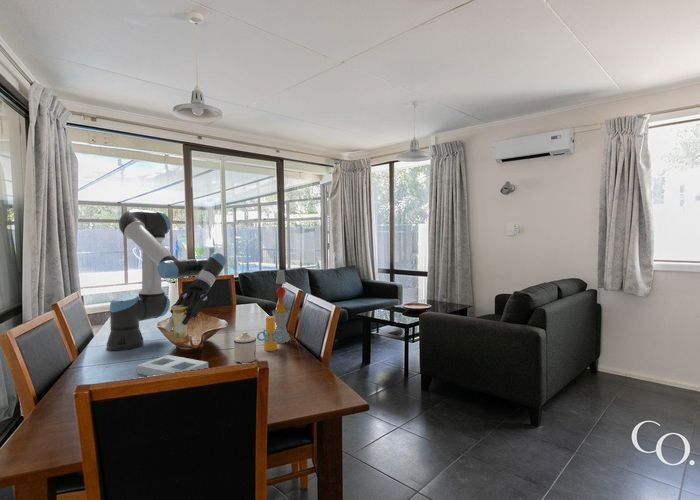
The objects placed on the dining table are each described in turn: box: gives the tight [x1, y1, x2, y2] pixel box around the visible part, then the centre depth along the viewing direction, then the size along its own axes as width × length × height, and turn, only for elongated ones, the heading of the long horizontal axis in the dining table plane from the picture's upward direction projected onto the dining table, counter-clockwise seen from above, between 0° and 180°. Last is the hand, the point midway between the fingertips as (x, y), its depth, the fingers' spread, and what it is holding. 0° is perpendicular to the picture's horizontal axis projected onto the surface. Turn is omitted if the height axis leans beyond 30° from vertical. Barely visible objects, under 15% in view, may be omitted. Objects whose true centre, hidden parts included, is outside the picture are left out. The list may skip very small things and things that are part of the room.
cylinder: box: [256, 315, 284, 352], centre depth 174 cm, size 12×10×15 cm
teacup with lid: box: [233, 331, 257, 364], centre depth 161 cm, size 12×9×12 cm
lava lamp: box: [271, 269, 291, 344], centre depth 188 cm, size 9×9×35 cm
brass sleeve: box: [170, 305, 189, 339], centre depth 153 cm, size 6×6×12 cm
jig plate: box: [136, 354, 209, 377], centre depth 146 cm, size 22×14×3 cm, turn 65°
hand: (172, 330), depth 150 cm, fingers closed on brass sleeve, 5 cm apart
